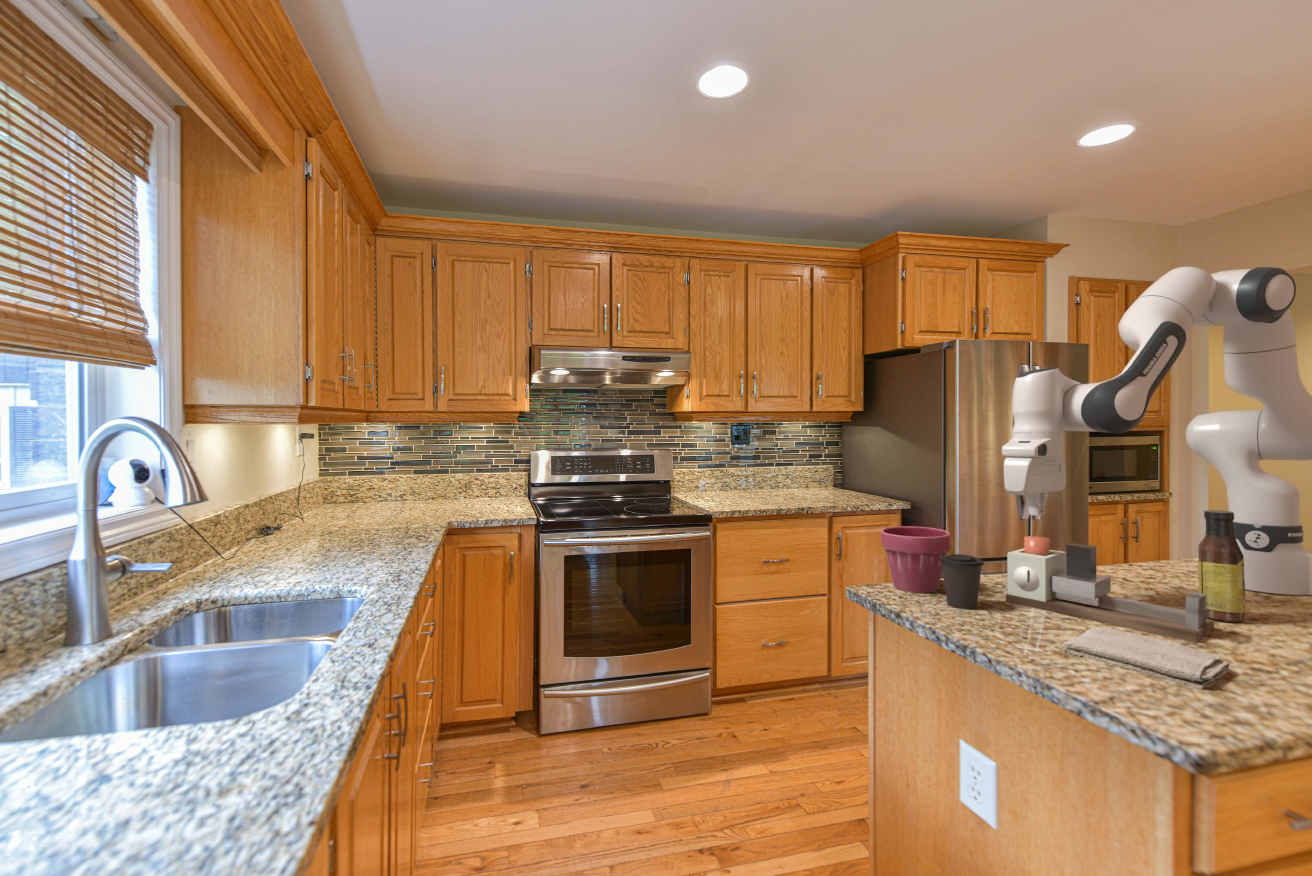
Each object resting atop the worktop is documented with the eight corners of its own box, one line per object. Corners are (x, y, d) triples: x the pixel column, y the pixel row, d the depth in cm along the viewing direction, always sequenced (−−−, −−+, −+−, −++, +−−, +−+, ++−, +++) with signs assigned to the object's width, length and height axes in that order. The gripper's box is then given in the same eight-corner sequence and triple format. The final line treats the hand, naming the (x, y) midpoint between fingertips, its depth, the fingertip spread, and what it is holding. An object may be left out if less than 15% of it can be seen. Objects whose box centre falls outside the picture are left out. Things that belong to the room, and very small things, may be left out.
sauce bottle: (1254, 624, 107) (1255, 514, 106) (1214, 622, 108) (1214, 513, 108) (1227, 613, 113) (1227, 509, 113) (1189, 612, 114) (1189, 508, 114)
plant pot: (880, 592, 130) (879, 534, 130) (881, 577, 143) (881, 524, 143) (953, 599, 124) (953, 538, 124) (948, 582, 137) (948, 527, 137)
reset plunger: (1029, 561, 125) (1029, 535, 125) (1053, 565, 122) (1053, 538, 122) (1020, 564, 123) (1020, 537, 123) (1044, 568, 119) (1044, 540, 119)
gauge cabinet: (1029, 593, 128) (1029, 546, 128) (1066, 600, 122) (1066, 552, 122) (1006, 601, 122) (1006, 553, 122) (1044, 609, 116) (1044, 558, 116)
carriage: (1069, 592, 121) (1069, 540, 121) (1110, 600, 115) (1110, 545, 115) (1052, 599, 117) (1052, 545, 116) (1094, 607, 111) (1094, 551, 111)
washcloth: (1209, 696, 80) (1209, 673, 80) (1058, 655, 95) (1058, 636, 95) (1233, 674, 87) (1233, 653, 87) (1089, 639, 101) (1089, 621, 101)
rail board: (1029, 592, 129) (1029, 562, 128) (1213, 628, 104) (1214, 592, 104) (1005, 601, 122) (1005, 570, 122) (1196, 642, 98) (1196, 603, 98)
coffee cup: (983, 613, 114) (983, 561, 114) (937, 607, 119) (936, 557, 119) (985, 603, 121) (985, 554, 121) (941, 597, 126) (941, 550, 125)
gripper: (1041, 446, 131) (1041, 509, 131) (997, 447, 119) (997, 516, 119) (1075, 446, 125) (1074, 512, 125) (1032, 448, 113) (1032, 520, 114)
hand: (1036, 514), depth 122 cm, fingers closed
